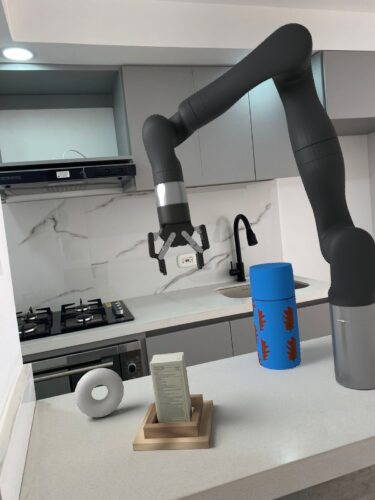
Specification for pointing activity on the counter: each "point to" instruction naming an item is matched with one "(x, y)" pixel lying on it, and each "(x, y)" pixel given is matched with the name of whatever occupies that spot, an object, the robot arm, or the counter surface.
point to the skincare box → (171, 388)
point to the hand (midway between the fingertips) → (182, 272)
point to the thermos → (275, 315)
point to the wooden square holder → (176, 429)
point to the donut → (104, 405)
